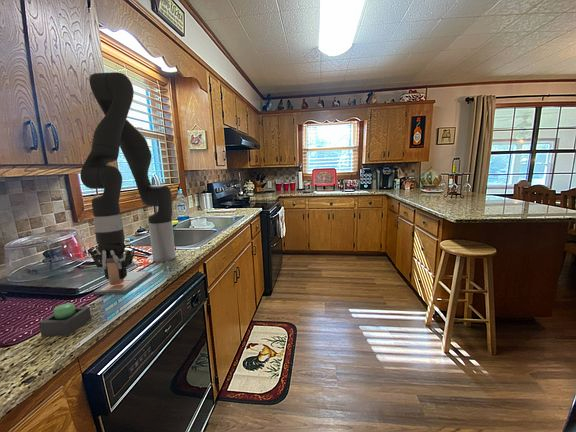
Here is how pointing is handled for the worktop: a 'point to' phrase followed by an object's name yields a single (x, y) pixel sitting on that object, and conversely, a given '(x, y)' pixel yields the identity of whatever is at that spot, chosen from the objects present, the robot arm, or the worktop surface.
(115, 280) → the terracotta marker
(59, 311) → the button
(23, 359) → the worktop surface
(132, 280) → the picture board
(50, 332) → the button housing
